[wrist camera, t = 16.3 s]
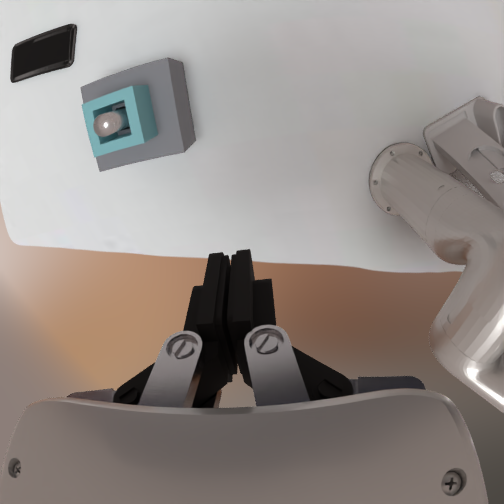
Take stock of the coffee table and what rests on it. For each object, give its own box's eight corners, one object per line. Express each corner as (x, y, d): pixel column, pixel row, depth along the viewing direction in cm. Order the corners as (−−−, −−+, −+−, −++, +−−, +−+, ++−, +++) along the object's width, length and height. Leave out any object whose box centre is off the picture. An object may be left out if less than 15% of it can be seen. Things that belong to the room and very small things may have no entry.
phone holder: (482, 93, 32) (555, 115, 17) (496, 141, 37) (561, 175, 21) (420, 129, 37) (494, 163, 22) (438, 179, 42) (503, 228, 27)
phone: (71, 65, 30) (10, 84, 29) (74, 65, 31) (13, 83, 30) (75, 21, 26) (12, 44, 25) (79, 22, 27) (16, 44, 26)
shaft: (153, 101, 35) (110, 111, 23) (156, 116, 36) (115, 133, 24) (138, 105, 35) (91, 117, 23) (141, 120, 36) (96, 139, 24)
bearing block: (182, 62, 33) (167, 57, 26) (195, 140, 39) (184, 152, 32) (107, 84, 33) (80, 87, 27) (122, 156, 40) (99, 171, 33)
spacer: (148, 84, 28) (132, 85, 23) (158, 134, 31) (144, 142, 27) (101, 100, 28) (81, 104, 24) (112, 147, 31) (94, 157, 27)
